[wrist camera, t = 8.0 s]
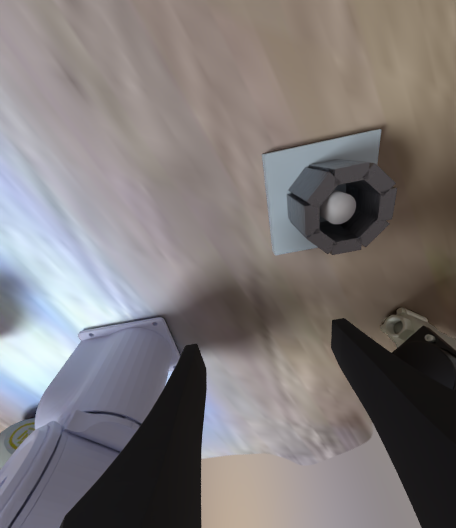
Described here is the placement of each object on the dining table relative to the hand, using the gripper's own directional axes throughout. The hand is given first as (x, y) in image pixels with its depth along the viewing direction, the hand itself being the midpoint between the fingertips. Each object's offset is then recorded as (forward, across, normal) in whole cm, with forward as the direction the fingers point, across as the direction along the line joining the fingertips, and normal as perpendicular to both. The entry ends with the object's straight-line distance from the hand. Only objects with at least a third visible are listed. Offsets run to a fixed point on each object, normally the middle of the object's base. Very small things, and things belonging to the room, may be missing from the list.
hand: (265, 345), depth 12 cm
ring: (+9, -7, -5) cm, 12 cm away
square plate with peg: (+10, -7, -5) cm, 13 cm away
